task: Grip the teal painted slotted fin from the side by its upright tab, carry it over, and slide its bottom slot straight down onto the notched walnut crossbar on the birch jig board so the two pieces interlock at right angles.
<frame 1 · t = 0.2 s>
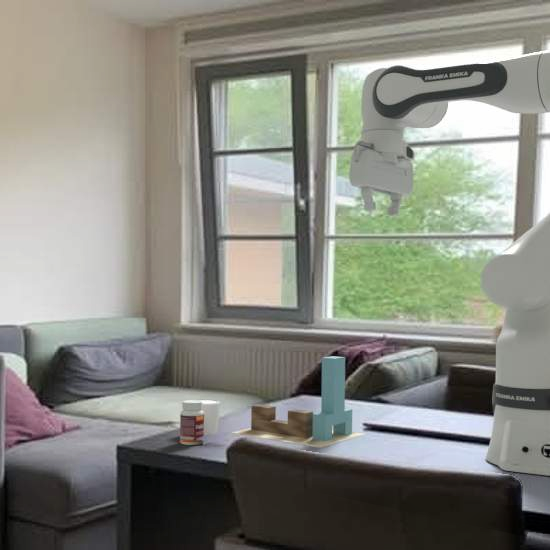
hand: (381, 213, 164), 47 cm above the table, tool pointing down, fingers open, 8 cm apart
slotted fin: (332, 436, 159), point 1 cm above the table, touching jig board
pill bottle: (191, 444, 158), on the table
jig board: (298, 440, 162), on the table
white cup: (204, 435, 167), on the table
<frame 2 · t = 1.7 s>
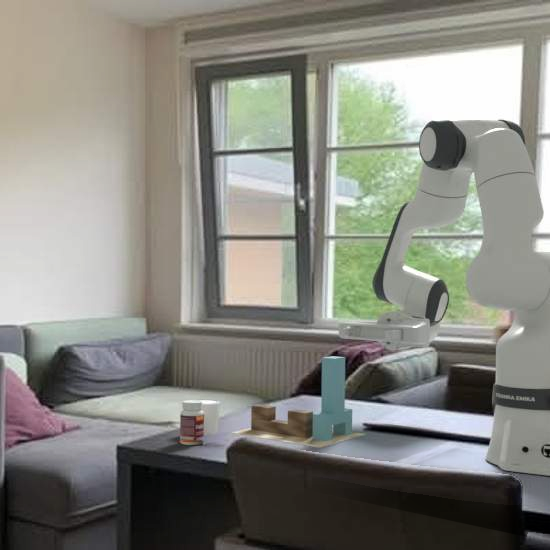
hand: (364, 333, 169), 22 cm above the table, tool horizontal, fingers open, 8 cm apart
nothing on the table moved.
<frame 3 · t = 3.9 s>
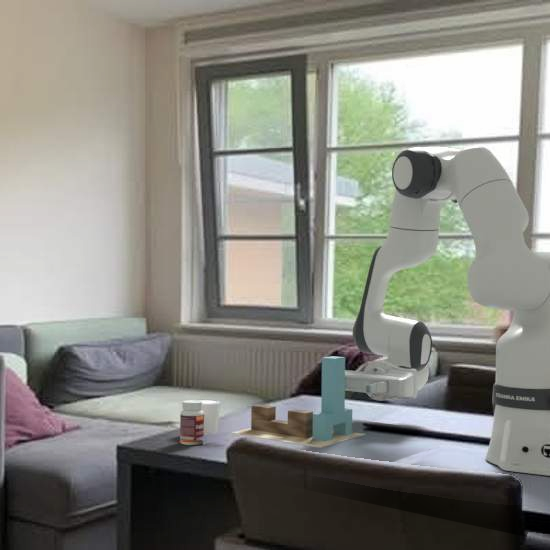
hand: (349, 386, 164), 11 cm above the table, tool horizontal, fingers open, 8 cm apart
nothing on the table moved.
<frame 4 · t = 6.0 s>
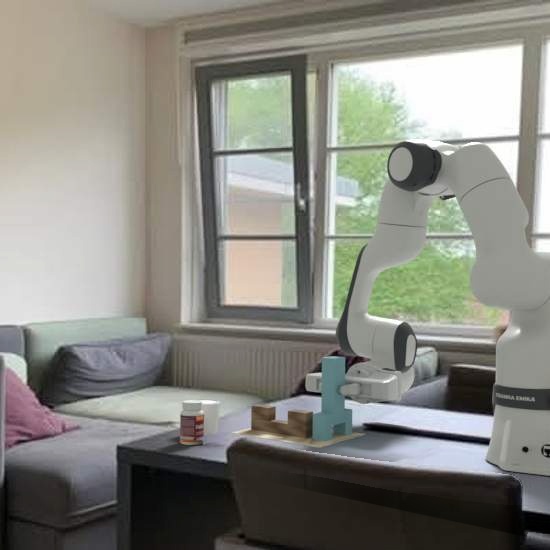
hand: (330, 389, 158), 11 cm above the table, tool horizontal, fingers closed on slotted fin, 3 cm apart
slotted fin: (332, 436, 159), point 2 cm above the table, touching gripper, jig board
everything else where it was.
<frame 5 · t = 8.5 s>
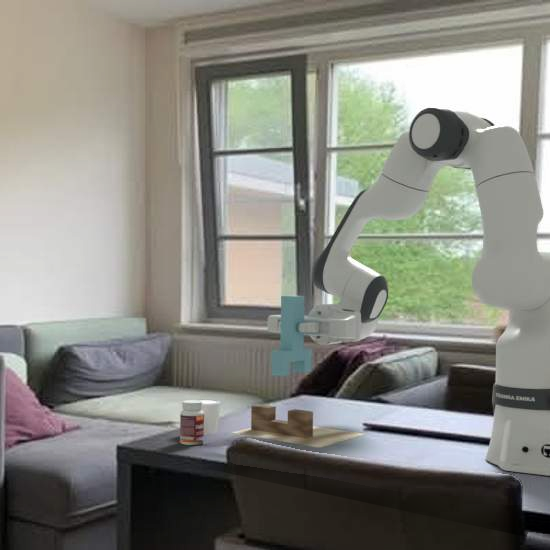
hand: (289, 327, 161), 23 cm above the table, tool horizontal, fingers closed on slotted fin, 3 cm apart
slotted fin: (291, 373, 162), point 14 cm above the table, touching gripper
everything else where it was.
when the fingers open (12 cm above the table, at t = 11.1 s): slotted fin stays where it is, resting on jig board.
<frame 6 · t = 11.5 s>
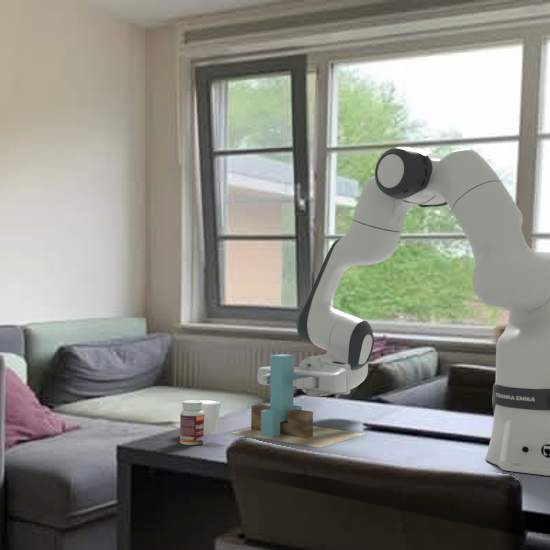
hand: (279, 381, 161), 12 cm above the table, tool horizontal, fingers open, 7 cm apart
slotted fin: (281, 432, 162), point 2 cm above the table, touching jig board
everything else where it was.
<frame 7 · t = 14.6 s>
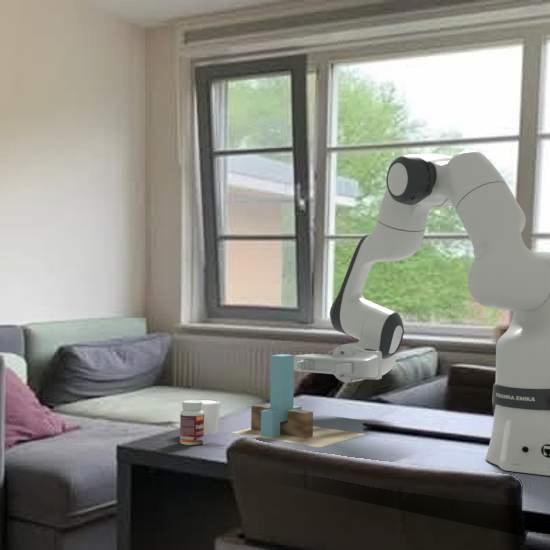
hand: (316, 367, 171), 14 cm above the table, tool horizontal, fingers open, 8 cm apart
nothing on the table moved.
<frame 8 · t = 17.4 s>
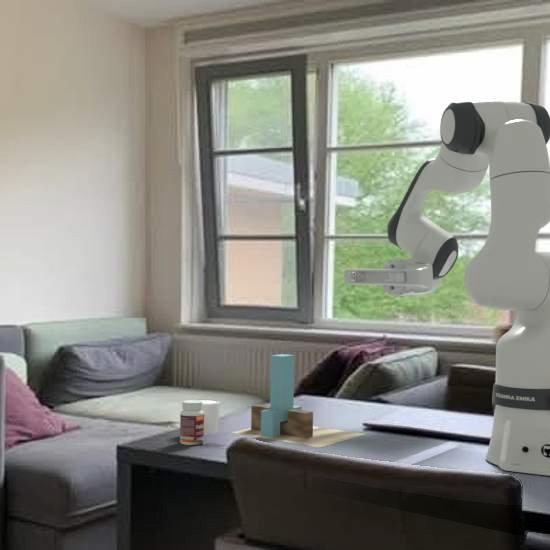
hand: (369, 276, 174), 34 cm above the table, tool horizontal, fingers open, 8 cm apart
nothing on the table moved.
at the end: slotted fin 0.0 cm from the target spot on the jig board, point 1.5 cm above the jig board's base; slotted fin tilted 0°; the gripper is holding nothing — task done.
